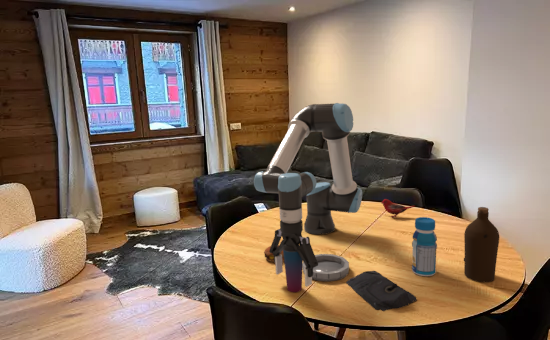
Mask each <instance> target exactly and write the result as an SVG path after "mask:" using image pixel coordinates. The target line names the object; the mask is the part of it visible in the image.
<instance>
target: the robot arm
mask: <svg viewBox="0 0 550 340" xmlns="http://www.w3.org/2000/svg"><path fill="white" fill-rule="evenodd" d="M353 128H354V114H353V112H352V109H351V107H350V106H349V105H348V104H346V103H339V102H335V103H313V104H309V105H307V106H305V107H303V108H301V109H299V110H298V111H297V113H295V114H294V116H293V117H291V120H290V121H289V123H288V125H287V132H286V133H285V135H284V137H283V139H282V141H281V143H280V144H279V146H278V147H277V149H276V152H275V153H274V155H273V157H272V159H271V160H270V163H269V164H268V166H267V168H266V169H265V171H258V172H256V173H255V175H254V179H253V187H254V188H255V190H256V191H258V192H261V193H266V194H278V201H279V205H278V207H279V219H280V221H279V226H280V227H279V229H277V230H275V231H274V236H273V239H272V242H271V245H270V246H271V247H270V246H269V247H270V250H269V252H270V253H273V255H274V262H273V263H274V264H275V274H276V275H279V274H281V273H283V272H284V271H283V270H284V269H283V262H282V255H281V252H282V250H283V247H284V246H286V245H287V246H290V247H292V248H294V249H295V250H296V251H297V252H298V253H299V255H300V257H301V259H302V260H303V262H304V264H305V265H306V267H305V268H304V269H305V274H304V286H305V288H306V287H310V286H311V285H313V279H312V276H313V268H314V267H316V266H318V262H317V260H316V257H315V255H316V254H315V252H314V250H313V247H312V245H311V239H310V237H309V236H303V234H302V232H303V229H304V231H305V232H306V233H308V234H312V235H328V234H331V233H334V231H335V229H336V224H335V222H334V219H333V216H332V212H340V213H347V214H351V213H354V214H355V213H357V212H359V210H360V207H361V206H362V199H363V190H362V188H359V187H358V184H357V183H356V181H354V180H353V174H352V165H351V158H350V150H349V144H348V143H349V142H348V136H349V135H350V134H351V131H352V130H353ZM314 132H316V133H317V132H320V133H321V135H322V138H323V139H324V140H326V141H327V142H326V143H327V149H328V154H329V160H330V161H329V162H330V167H331V173H332V179H333V180H332V181H333V183H332V184H331V182H325V181H324V182H317V179H316V176H314V174H312V173H311V172H308V171H304V172H301V173H297V172H289V170H290V167H291V165H292V164H293V163H294V159H295V157H296V155H297V153H298V152H299V150H300V148H301V145H302V143H303V142H304V140H305V138H308V136H309V135H310V133H314ZM303 197H306V210H307V211H306V212H307V213H306V218H305V221H304V225H303V205H302V204H303V201H302V199H303ZM281 239H282V240H281ZM278 245H279V246H278ZM299 245H300V246H299ZM297 246H299V247H297ZM279 254H280V255H279Z"/></svg>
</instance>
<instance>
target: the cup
mask: <svg viewBox="0 0 550 340" xmlns="http://www.w3.org/2000/svg"><path fill="white" fill-rule="evenodd" d="M299 246H300V245H299ZM299 246H297V247H299ZM283 254H284V261H283V262H284V263H283V264H284V271H285V272H284V273H285V280H286V281H285V282H286V289H287V291H288V292H290V293H299V292H300V291H302V289H303V267H302V264H303V260H302V259H301V257H300V255H299V253H298V252H297V251H296V250H295V249H294V248H292V247H290V246H287V245H286V246H284V247H283Z"/></svg>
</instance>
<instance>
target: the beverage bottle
mask: <svg viewBox="0 0 550 340" xmlns="http://www.w3.org/2000/svg"><path fill="white" fill-rule="evenodd" d="M414 227H415V231H414V232H413V233H412V239H413V240H412V242H411V247H412V255H411V256H412V260H411V261H412V262H411V270H412V273H414V274H416V275H417V276H420V277H432V276H434V275H435V274H436V272H437V269H436V266H437V249H438V244H437V241H438V240H437V239H438V238H437V234H436V233H435V229H436V220H435V219H434V218H431V217H427V216H426V217H425V216H422V217H421V216H420V217H416V218H415V220H414Z"/></svg>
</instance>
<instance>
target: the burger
mask: <svg viewBox="0 0 550 340" xmlns="http://www.w3.org/2000/svg"><path fill="white" fill-rule="evenodd" d="M279 245H280V244H279ZM279 245H278V246H279ZM270 247H271V245H270V246H268V247H266V248H265V249H264V252H263V253H264V258H265V259H266V260H267V261H269V262H273V263H274V255H273V253H270V252H269V250H270ZM279 255H280V254H279ZM281 255H282V263H283V262H284V254H283V250H282V252H281Z"/></svg>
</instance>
